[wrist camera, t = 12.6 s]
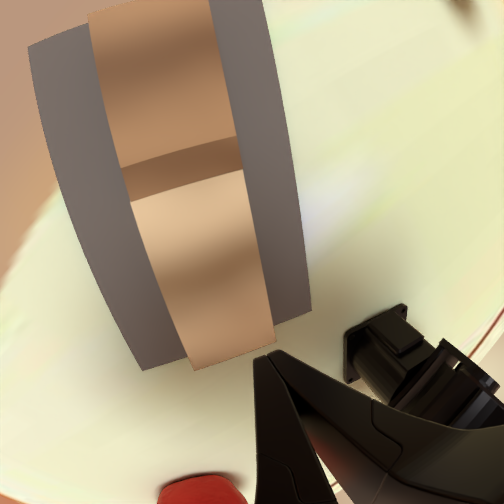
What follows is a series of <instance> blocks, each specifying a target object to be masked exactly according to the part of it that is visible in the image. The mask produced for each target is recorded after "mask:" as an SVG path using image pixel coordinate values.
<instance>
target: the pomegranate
mask: <svg viewBox="0 0 504 504" xmlns="http://www.w3.org/2000/svg"><path fill="white" fill-rule="evenodd" d="M157 504H248V503H247V501H246V499H245V498H244V496H243V495H242V494H241V493H240V492H239V491H238V490H237V489H236V488H235V486H234V485H233V484H232V483H231V482H230V481H229V480H228V479H226V478H224V477H221V476H218V475H206V476H200V477H194V478H190V479H186V480H183V481H180V482H176V483H173V484H171V485H169V486H167V487H166V488H164V489H163V490H162V492H161V493H160V495H159V497H158V501H157Z"/></svg>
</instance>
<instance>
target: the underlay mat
mask: <svg viewBox="0 0 504 504" xmlns="http://www.w3.org/2000/svg"><path fill="white" fill-rule="evenodd" d="M208 1H209V6H210V11H211V15H212V20H213V25H214V29H215V34H216V39H217V44H218V48H219V53H220V58H221V63H222V68H223V72H224V77H225V82H226V87H227V92H228V96H229V101H230V106H231V111H232V116H233V121H234V126H235V130H236V135H237V140H238V145H239V150H240V155H241V160H242V165H243V174H244V179H245V184H246V189H247V194H248V199H249V204H250V209H251V214H252V219H253V224H254V229H255V234H256V239H257V244H258V249H259V255H260V260H261V265H262V270H263V275H264V280H265V285H266V290H267V296H268V301H269V306H270V311H271V316H272V321H273V326H274V325H277V324H280V323H282V322H285V321H287V320H290V319H292V318H295V317H297V316H300V315H302V314H305V313H307V312H310V311H312V307H311V297H310V288H309V279H308V270H307V262H306V253H305V245H304V237H303V230H302V222H301V215H300V207H299V200H298V193H297V186H296V180H295V173H294V167H293V160H292V154H291V148H290V142H289V135H288V130H287V124H286V118H285V112H284V107H283V101H282V96H281V90H280V85H279V80H278V75H277V69H276V64H275V59H274V54H273V50H272V45H271V40H270V35H269V31H268V26H267V21H266V17H265V12H264V8H263V4H262V0H208ZM28 54H29V61H30V66H31V73H32V79H33V84H34V90H35V95H36V100H37V105H38V109H39V114H40V118H41V122H42V126H43V131H44V134H45V138H46V142H47V146H48V149H49V153H50V157H51V160H52V164H53V167H54V170H55V173H56V177H57V180H58V183H59V186H60V189H61V192H62V195H63V198H64V201H65V204H66V207H67V210H68V213H69V215H70V218H71V221H72V224H73V226H74V229H75V232H76V234H77V237H78V239H79V242H80V244H81V247H82V249H83V252H84V254H85V257H86V259H87V261H88V264H89V266H90V268H91V271H92V273H93V275H94V277H95V280H96V282H97V284H98V286H99V288H100V291H101V293H102V295H103V297H104V299H105V301H106V303H107V305H108V307H109V309H110V312H111V314H112V316H113V318H114V320H115V322H116V323H117V325H118V327H119V329H120V331H121V333H122V335H123V337H124V339H125V341H126V343H127V344H128V346H129V348H130V350H131V352H132V354H133V355H134V357H135V359H136V361H137V362H138V364H139V366H140V368H141V369H142V371H144V370H147V369H150V368H154V367H157V366H160V365H163V364H166V363H170V362H173V361H176V360H179V359H182V358H185V357H188V356H187V353H186V351H185V349H184V346H183V344H182V342H181V339H180V337H179V335H178V332H177V330H176V328H175V325H174V323H173V320H172V318H171V315H170V313H169V310H168V308H167V305H166V303H165V300H164V298H163V295H162V293H161V290H160V287H159V285H158V282H157V279H156V277H155V274H154V271H153V269H152V266H151V263H150V260H149V258H148V255H147V252H146V249H145V246H144V243H143V240H142V237H141V235H140V232H139V229H138V226H137V222H136V219H135V216H134V213H133V210H132V207H131V204H130V198H129V194H128V191H127V188H126V185H125V181H124V178H123V174H122V171H121V167H120V164H119V160H118V157H117V153H116V149H115V146H114V142H113V138H112V134H111V130H110V126H109V122H108V118H107V114H106V110H105V106H104V101H103V97H102V92H101V88H100V83H99V78H98V73H97V68H96V63H95V58H94V53H93V47H92V41H91V35H90V29H89V23H86V24H83V25H80V26H78V27H75V28H72V29H70V30H67V31H64V32H62V33H59V34H56V35H54V36H52V37H49V38H47V39H44V40H42V41H40V42H38V43H35V44H33V45H31V46H29V47H28Z"/></svg>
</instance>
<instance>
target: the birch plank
mask: <svg viewBox="0 0 504 504" xmlns="http://www.w3.org/2000/svg"><path fill="white" fill-rule="evenodd" d="M130 204H131V207H132V210H133V213H134V216H135V219H136V222H137V226H138V229H139V232H140V235H141V237H142V240H143V243H144V246H145V249H146V252H147V255H148V258H149V260H150V263H151V266H152V269H153V271H154V274H155V277H156V279H157V282H158V285H159V287H160V290H161V293H162V295H163V298H164V300H165V303H166V305H167V308H168V310H169V313H170V315H171V318H172V320H173V323H174V325H175V328H176V330H177V332H178V335H179V337H180V339H181V342H182V344H183V346H184V349H185V351H186V353H187V356H188V358H189V360H190V362H191V365H192V367H193V369H194V371H196V370H199V369H202V368H205V367H208V366H211V365H214V364H217V363H220V362H223V361H226V360H228V359H231V358H234V357H237V356H239V355H242V354H245V353H248V352H250V351H253V350H256V349H258V348H261V347H264V346H266V345H269V344H271V343H274V342H276V337H275V332H274V327H273V321H272V316H271V311H270V306H269V301H268V296H267V290H266V285H265V280H264V275H263V270H262V265H261V260H260V255H259V249H258V244H257V239H256V234H255V229H254V224H253V219H252V214H251V209H250V204H249V199H248V194H247V189H246V184H245V179H244V174H243V169H240V170H237V171H233V172H229V173H225V174H222V175H218V176H215V177H211V178H207V179H204V180H200V181H197V182H193V183H190V184H187V185H183V186H180V187H177V188H173V189H170V190H167V191H164V192H160V193H157V194H154V195H151V196H148V197H145V198H142V199H139V200H136V201H133V202H131V201H130Z"/></svg>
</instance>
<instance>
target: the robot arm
mask: <svg viewBox="0 0 504 504" xmlns="http://www.w3.org/2000/svg"><path fill="white" fill-rule="evenodd" d="M407 309H408V308H407V306H406V305H405V304H400V305H398V306H396V307H394V308H392V309H391V310H389V311H387V312H385V313H383V314H381V315H379V316H377V317H375V318H373V319H371V320H369V321H367V322H365V323H363V324H361V325H359V326H357V327H355V328H353V329H350V330H349V331H347V332H346V333H345V335H344V381H345V382H346V383H347V384H350V383H352V382H354V381H356V380H358V379H360V378H362V379H363V381H364V382H365V383H366V384H367V385H368V386H369V388H370V389H371V390H372V391H373V392H374V393H375V395H376V396H377V397H378V398H379V399H380V400H381V402H382V403H381V402H379V401H377V400H375V399H372V398H371V397H369V396H367V395H365V394H363V393H361V392H359V391H357V390H355V389H353V388H351V387H349V386H347V385H345V384H343V383H341V382H339V381H337V380H335V379H333V378H332V377H330V376H328V375H326V374H324V373H322V372H320V371H318V370H317V369H315V368H313V367H311V366H309V365H307V364H306V363H304V362H302V361H300V360H298V359H296V358H295V357H293V356H291V355H289V354H287V353H286V352H284V351H282V350H279V349H278V350H275V351H273V352H270V353H268V354H267V356H266V355H263V356H260V357H258V358H255V359H254V360H253V380H254V406H255V432H256V453H257V454H256V462H257V482H256V494H255V503H254V504H338V502H337V499H336V497H335V495H334V493H333V490H332V488H331V486H330V484H329V481H328V479H327V477H326V475H325V472H324V470H323V468H322V466H321V463H320V461H319V459H318V457H317V454H318V456H319V457H320V458H321V460H322V461H323V463H324V464H325V465H326V467H327V468H328V469H329V471H330V472H331V473H332V475H333V476H334V478H335V479H336V480H337V482H338V483H339V484H340V486H341V487H342V488H343V490H344V491H345V492H346V493H347V495H348V496H349V497H350V499H351V500H352V501H353V503H354V504H504V404H503V403H502V402H501V401H500V400H499V399H498V398H497V397H495V396H494V394H495V392H496V391H497V390H498V389H499V388H500V385H499V384H498V383H497V382H496V381H495V380H494V379H492V378H491V377H490V376H489V375H488V374H487V373H486V372H485V371H483V370H482V369H481V368H480V367H479V366H478V365H476V364H475V363H474V362H473V361H472V360H470V359H469V358H468V357H467V356H465V355H464V354H463V353H462V352H460V351H459V350H458V349H457V348H455V347H454V346H453V345H452V344H450V343H449V342H448V341H447V340H445V339H444V338H442V340H441V341H440V342H439V345H438V347H437V348H434V347H433V346H432V345H431V344H430V343H428V342H427V341H426V340H425V339H424V336H423V335H422V334H421V333H420V332H419V331H417V330H416V329H415V328H414V327H413V326H411V325H410V324H409V323H408V322H407V321H406V317H407ZM458 361H460V363H459V364H458V365H457V367H456V368H455V369H453V367H454V366H455V365H456V363H457V362H458ZM315 451H316V452H315ZM316 453H317V454H316Z"/></svg>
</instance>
